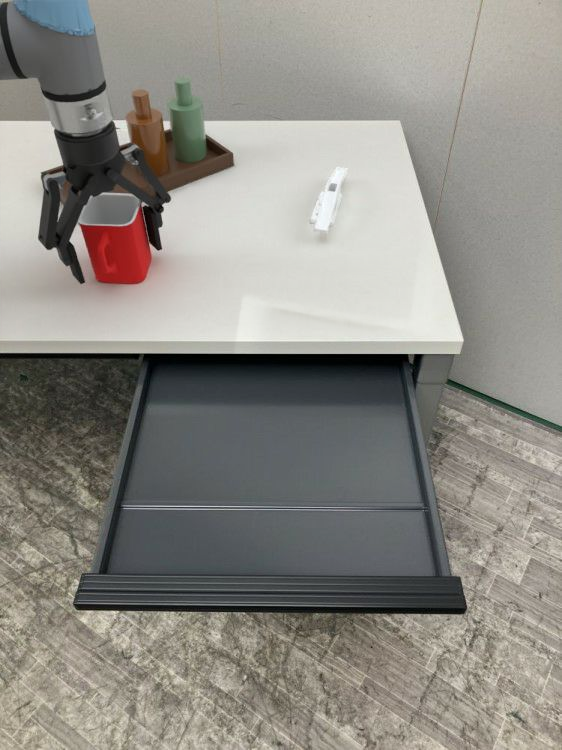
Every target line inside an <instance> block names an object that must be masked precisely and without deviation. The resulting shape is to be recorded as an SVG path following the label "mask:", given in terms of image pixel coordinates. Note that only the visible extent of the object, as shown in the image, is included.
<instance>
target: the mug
mask: <svg viewBox="0 0 562 750" xmlns="http://www.w3.org/2000/svg"><path fill="white" fill-rule="evenodd" d="M142 207H143V202H142V201H141V200H140V199H138V198H137V197H135V196H134V195H133V194H128V193H101V194H100V195H98V196H95V197H93V196H90V198H89V200H88V203H87V205H85V206H84V207H83V209H82V212H81V214H80V217H79V219H78V221H77V224H78V226H79V227H80V230H81V233H82V237H83V240H84V243H85V247H86V250H87V254H88V257H89V261H90V265H91V267H92V269H93V270H92V271H93V274H94V278H95V280H97V281H98V282H99V283H105V284H130V285H131V284H133V285H134V284H140V283H142V282H144V281H145V279H146V278H147V275H148V272H149V268H150V267H151V266H150V265H151V262H152V259H153V257H152V251H151V246H150V245H151V244H150V243H149V239H148V234H147V229H146V224H145V219H144V213H143V208H142Z"/></svg>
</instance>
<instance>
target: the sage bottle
mask: <svg viewBox="0 0 562 750" xmlns="http://www.w3.org/2000/svg"><path fill="white" fill-rule="evenodd" d="M173 82H174V89H175V96H173V97H172V98H170V99H169V100H168V101H167V102H166V103H167V104H166V105H167V113H168V120H169V127H170V128H169V129H171V135H172V143H173V150H174V156H175V158H176V159H177V160H179V161H182V162H197V161H200V160H202V159H204V158H205V157H206V156H207V146H206V135H207V134H206V124H205V116H204V105H203V104H204V103H203V100H202V99H201V98H200V97H199V96H195V95H192V94H193V93H192V84H191V78H189V77H188V76H187V77H186V76H180V77H176V78H174V80H173ZM205 134H206V135H205Z"/></svg>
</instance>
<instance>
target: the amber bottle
mask: <svg viewBox="0 0 562 750" xmlns="http://www.w3.org/2000/svg"><path fill="white" fill-rule="evenodd" d="M131 98H132V104H133V109H132V110H130V111H128V112H127V113H126V114H125V117H124V118H125V123H126V128H127V133H128V137H129V138H128V139H129V143H134V144H136V145H137V146H138V147H139V148H141V149H142V150H143V151H144V154H145V158H146V162H147V164H148V166H149V167H150V168H151V170H152V171H153V173H154V174H155V175H156V176H160V175H163V174H165V173H166V172H167V171H168V170H169V168H170V165H169V159H168V152H167V145H166V138H165V125H164V118H163V114H162V112H161V110H159V109H156V108H153V107H151V102H150V96H149V91H148V90H147V89H136V90H133V91H132V92H131ZM135 170H136V172H137V173H138V174H139V175H141V174H140V172H139V171H138V170H137V168H136V167H135Z"/></svg>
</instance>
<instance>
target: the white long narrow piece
mask: <svg viewBox="0 0 562 750" xmlns="http://www.w3.org/2000/svg"><path fill="white" fill-rule="evenodd" d="M348 173H349V168H348V167H342V166H336V167H335V169H334V170H333V171H332V173H331V175H330V176H329V178H328V180H327V181H326V184H325V187H324V190H320V191H319V194H318V197H317V199H316V203H315V205H314V207H313V210H312V213H311V215H310V218H309V224H313V225H314V227H313V232H314V233H317V234H318V233H319V234H324V235H328V234H329V229H330V227H333V226H334V223H335V221H336V217H337V214H338V211H339V208H340V205H341V202H342V199H343V193H341V190H342V184H343V182H344V181H345V178H346V176H347V175H348Z"/></svg>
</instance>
